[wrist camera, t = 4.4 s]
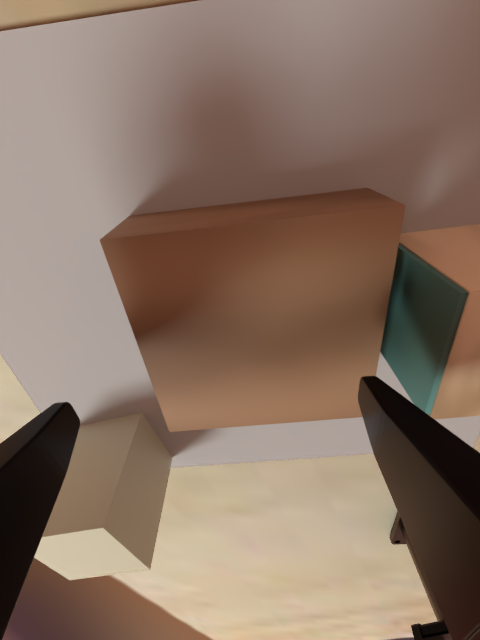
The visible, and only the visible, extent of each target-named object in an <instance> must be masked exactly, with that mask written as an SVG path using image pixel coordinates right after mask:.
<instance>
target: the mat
mask: <svg viewBox="0 0 480 640" xmlns="http://www.w3.org/2000/svg"><path fill="white" fill-rule="evenodd" d="M360 188H369V189H372V190H374V191H376V192H378V193H380V194H382V195H385V196H387V197H389V198H391V199H393V200H395V201H398V202H400V203H402V204H404V205H405V211H404V217H403V223H402V228H401V233H409V232H417V231H426V230H434V229H443V228H451V227H460V226H468V225H477V224H480V0H198V1H192V2H186V3H179V4H173V5H166V6H160V7H153V8H147V9H141V10H134V11H128V12H121V13H115V14H108V15H102V16H96V17H89V18H83V19H76V20H70V21H63V22H57V23H51V24H44V25H38V26H31V27H25V28H19V29H12V30H6V31H0V354H1V356H2V357H3V359H4V360H5V362H6V363H7V365H8V366H9V367H10V369H11V370H12V372H13V373H14V375H15V376H16V378H17V379H18V381H19V382H20V384H21V385H22V387H23V388H24V389H25V391H26V392H27V394H28V395H29V397H30V398H31V400H32V401H33V403H34V404H35V406H36V407H37V409H38V410H39V411H40V413H42V412H43V411H44V410H46V409H47V408H48V407H50V406H51V405H52V404H54V403H58V402H69V403H70V404H71V405H72V407H73V408H74V410H75V412H76V413H77V415H78V417H79V419H80V426H82V425H86V424H91V423H96V422H100V421H105V420H110V419H114V418H119V417H124V416H128V415H133V414H138V413H142V414H143V415H144V417H145V418H146V420H147V421H148V422H149V424H150V425H151V427H152V428H153V430H154V431H155V433H156V434H157V436H158V437H159V438H160V440H161V441H162V443H163V444H164V446H165V447H166V449H167V450H168V452H169V453H170V454H171V456H172V462H171V467H170V468H179V467H193V466H207V465H221V464H236V463H250V462H264V461H278V460H293V459H307V458H321V457H335V456H349V455H364V454H374V453H373V450H372V447H371V444H370V440H369V437H368V434H367V430H366V427H365V423H364V420H363V417H358V418H345V419H332V420H319V421H306V422H293V423H280V424H267V425H254V426H241V427H228V428H215V429H202V430H189V431H176V432H169V430H168V427H167V424H166V421H165V419H164V416H163V413H162V410H161V408H160V405H159V402H158V399H157V397H156V394H155V391H154V388H153V386H152V383H151V380H150V377H149V375H148V372H147V369H146V366H145V364H144V361H143V358H142V356H141V353H140V350H139V347H138V345H137V342H136V339H135V336H134V334H133V331H132V328H131V325H130V323H129V320H128V317H127V314H126V312H125V309H124V306H123V303H122V301H121V298H120V295H119V292H118V290H117V287H116V284H115V281H114V279H113V276H112V273H111V271H110V268H109V265H108V262H107V260H106V257H105V254H104V251H103V249H102V246H101V243H100V239H101V238H103V237H104V236H105V235H106V234H107V233H109V232H110V231H111V230H112V229H114V228H115V227H116V226H117V225H119V224H120V223H121V222H122V221H124V220H125V219H126V218H127V217H128V216H131V215H139V214H148V213H156V212H165V211H173V210H182V209H190V208H198V207H207V206H215V205H224V204H232V203H241V202H249V201H258V200H266V199H275V198H283V197H292V196H300V195H309V194H317V193H326V192H334V191H343V190H351V189H360ZM376 376H377V377H378V378H379V379H381V380H382V381H384V382H385V383H386V384H388V385H389V386H390V387H392V388H393V389H394V390H396V391H397V392H398V393H400V394H401V395H402V396H404V397H405V398H406V399H408V400H409V401H410V402H412V400H411V399H410V397H409V396H408V394H407V393H406V391H405V390H404V388H403V386H402V385H401V383H400V382H399V380H398V379H397V377H396V376H395V374H394V372H393V371H392V369H391V368H390V366H389V365H388V363H387V362H386V360H385V358H384V357H383V355H382V354H381V352H380V355H379V361H378V367H377V372H376ZM412 403H413V402H412ZM413 404H414V403H413ZM435 420H436V421H437V422H439V423H440V424H441V425H443V426H444V427H445V428H447V429H448V430H449V431H451V432H452V433H453V434H455V435H456V436H458V437H459V438H460V439H462V440H463V441H464V442H466V443H467V444H468V445H470V446H471V447H473V445H474V443H475V441H476V439H477V437H478V435H479V433H480V416H470V417H458V418H446V419H435Z"/></svg>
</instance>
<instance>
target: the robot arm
mask: <svg viewBox="0 0 480 640" xmlns="http://www.w3.org/2000/svg"><path fill="white" fill-rule="evenodd" d="M358 403H359V407H360V410H361V413H362V417H363V420H364V423H365V427H366V430H367V434H368V437H369V440H370V444H371V447H372V450H373V453H374V455H375V458H376V460H377V463H378V465H379V468H380V470H381V472H382V475H383V477H384V479H385V482H386V484H387V486H388V489H389V491H390V494H391V496H392V498H393V501H394V503H395V505H396V508H397V510H398V513H397V516H396V519H395V522H394V525H393V528H392V531H391V534H390V540H391V543H392V544H407V546H408V549H409V551H410V554H411V556H412V559H413V561H414V564H415V566H416V569H417V571H418V573H419V576H420V578H421V581H422V583H423V586H424V588H425V591H426V593H427V596H428V598H429V601H430V603H431V606H432V608H433V611H434V613H435V616H436V618H437V620H438V622H433V623H428V624H423V625H421V624H414V625H411V627H412V631H413V635H414V639H415V640H480V453H479V452H478V451H476V450H475V449H474V448H472V447H471V446H470V445H468V444H467V443H466V442H464V441H463V440H462V439H460V438H459V437H458V436H456V435H455V434H453V433H452V432H451V431H449V430H448V429H447V428H445V427H444V426H443V425H441V424H440V423H439V422H437V421H436V420H435V419H433V418H432V417H431V416H429V415H428V414H427V413H425V412H424V411H423V410H421V409H420V408H419V407H417V406H416V405H414V404H413V403H412V402H410V401H409V400H408V399H406V398H405V397H404V396H402V395H401V394H400V393H398V392H397V391H396V390H394V389H393V388H392V387H390V386H389V385H388V384H386V383H385V382H384V381H382V380H381V379H379V378H378V377H377V376H363V377H361V379H360V383H359V390H358ZM79 428H80V419H79V417H78V415H77V413H76V412H75V410H74V408H73V407H72V405H71V404H70V403H69V402H58V403H54V404H52V405H51V406H50V407H48V408H47V409H46V410H44V411H43V412H42V413H40V414H39V415H38V416H36V417H35V418H34V419H32V420H31V421H30V422H28V423H27V424H26V425H24V426H23V427H22V428H21V429H19V430H18V431H17V432H15V433H14V434H13V435H11V436H10V437H9V438H7V439H6V440H5V441H3V442H2V443H1V444H0V640H2V638H3V636H4V633H5V631H6V628H7V626H8V623H9V621H10V618H11V615H12V613H13V610H14V608H15V605H16V602H17V600H18V597H19V595H20V592H21V589H22V587H23V585H24V582H25V579H26V577H27V574H28V572H29V569H30V567H31V564H32V561H33V559H34V556H35V554H36V551H37V549H38V546H39V543H40V541H41V538H42V536H43V533H44V531H45V528H46V525H47V523H48V520H49V518H50V515H51V513H52V510H53V507H54V505H55V502H56V500H57V497H58V495H59V492H60V489H61V487H62V484H63V482H64V479H65V476H66V473H67V470H68V467H69V464H70V460H71V456H72V453H73V449H74V446H75V442H76V439H77V435H78V431H79Z"/></svg>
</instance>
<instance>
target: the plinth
mask: <svg viewBox="0 0 480 640" xmlns="http://www.w3.org/2000/svg"><path fill="white" fill-rule="evenodd" d="M404 211H405V205H404V204H402V203H400V202H398V201H395V200H393V199H391V198H389V197H387V196H385V195H382V194H380V193H378V192H376V191H374V190H372V189H369V188H360V189H351V190H343V191H334V192H326V193H317V194H309V195H300V196H292V197H283V198H275V199H266V200H258V201H249V202H241V203H232V204H224V205H215V206H207V207H198V208H190V209H182V210H173V211H165V212H156V213H148V214H139V215H131V216H128V217H127V218H126V219H125V220H124V221H122V222H121V223H120V224H119V225H117V226H116V227H115V228H114V229H112V230H111V231H110V232H109V233H107V234H106V235H105V236H104V237H103V238H101V239H100V243H101V246H102V249H103V251H104V254H105V257H106V260H107V262H108V265H109V268H110V271H111V273H112V276H113V279H114V281H115V284H116V287H117V290H118V292H119V295H120V298H121V301H122V303H123V306H124V309H125V312H126V314H127V317H128V320H129V323H130V325H131V328H132V331H133V334H134V336H135V339H136V342H137V345H138V347H139V350H140V353H141V356H142V358H143V361H144V364H145V366H146V369H147V372H148V375H149V377H150V380H151V383H152V386H153V388H154V391H155V394H156V397H157V399H158V402H159V405H160V408H161V410H162V413H163V416H164V419H165V421H166V424H167V427H168V430H169V432H176V431H189V430H202V429H215V428H228V427H241V426H254V425H267V424H280V423H293V422H306V421H319V420H332V419H345V418H358V417H362V413H361V410H360V407H359V403H358V390H359V383H360V379H361V377H363V376H376V372H377V367H378V361H379V355H380V349H381V344H382V338H383V332H384V326H385V321H386V315H387V309H388V303H389V297H390V292H391V286H392V280H393V274H394V269H395V263H396V257H397V251H398V246H399V240H400V234H401V228H402V223H403V217H404Z"/></svg>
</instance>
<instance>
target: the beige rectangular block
mask: <svg viewBox="0 0 480 640" xmlns="http://www.w3.org/2000/svg"><path fill="white" fill-rule="evenodd" d="M171 462H172V456H171V454H170V453H169V452H168V450H167V449H166V447H165V446H164V444H163V443H162V441H161V440H160V438H159V437H158V436H157V434H156V433H155V431H154V430H153V428H152V427H151V425H150V424H149V422H148V421H147V420H146V418H145V417H144V415H143V414H142V413H138V414H133V415H128V416H124V417H119V418H114V419H110V420H105V421H100V422H96V423H91V424H86V425H82V426H80V428H79V431H78V435H77V439H76V442H75V446H74V449H73V453H72V456H71V460H70V464H69V467H68V470H67V473H66V476H65V479H64V482H63V484H62V487H61V489H60V492H59V495H58V497H57V500H56V502H55V505H54V507H53V510H52V513H51V515H50V518H49V520H48V523H47V525H46V528H45V531H44V533H43V536H42V538H41V541H40V543H39V546H38V549H37V551H36V554H35V556H34V558H36V559H37V560H39V561H41V562H42V563H44V564H45V565H47V566H48V567H50V568H51V569H53V570H55V571H56V572H58V573H59V574H61V575H63V576H64V577H66V578H67V579H69V580H74V579H82V578H90V577H97V576H105V575H113V574H120V573H128V572H136V571H144V570H150V567H151V562H152V557H153V552H154V547H155V542H156V537H157V532H158V527H159V522H160V517H161V512H162V507H163V502H164V497H165V492H166V487H167V482H168V477H169V472H170V467H171Z"/></svg>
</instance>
